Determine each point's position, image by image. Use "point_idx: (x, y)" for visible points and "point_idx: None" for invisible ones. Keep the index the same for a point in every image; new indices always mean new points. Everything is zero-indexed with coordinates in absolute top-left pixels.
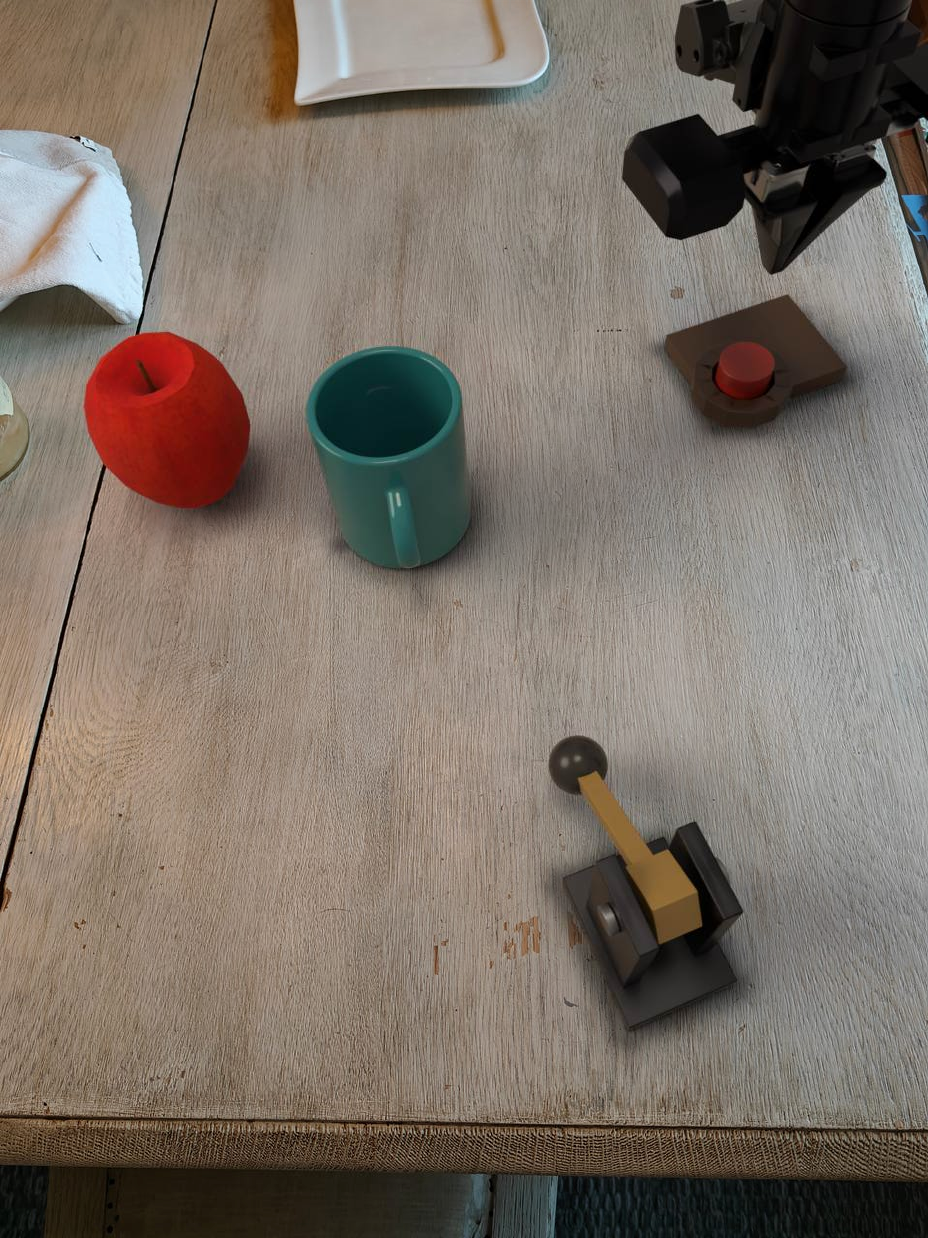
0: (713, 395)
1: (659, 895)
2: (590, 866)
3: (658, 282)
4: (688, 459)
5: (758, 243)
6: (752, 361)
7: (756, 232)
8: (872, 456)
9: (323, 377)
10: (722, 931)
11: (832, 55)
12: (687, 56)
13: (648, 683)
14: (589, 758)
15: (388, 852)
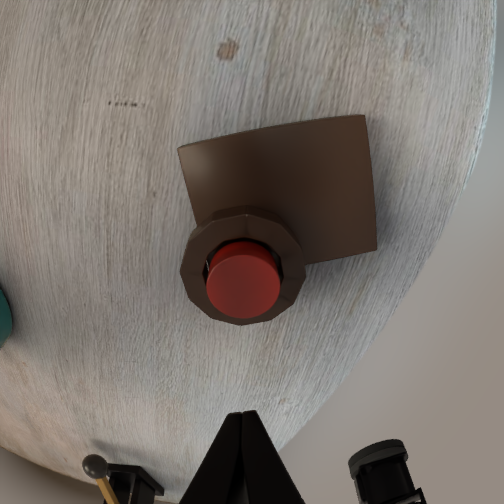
0: (198, 296)
1: None
2: (110, 470)
3: (208, 27)
4: (176, 304)
5: (207, 452)
6: (250, 290)
7: (195, 474)
8: (347, 328)
9: None
10: None
11: None
12: None
13: (133, 428)
14: (97, 478)
15: (38, 435)
